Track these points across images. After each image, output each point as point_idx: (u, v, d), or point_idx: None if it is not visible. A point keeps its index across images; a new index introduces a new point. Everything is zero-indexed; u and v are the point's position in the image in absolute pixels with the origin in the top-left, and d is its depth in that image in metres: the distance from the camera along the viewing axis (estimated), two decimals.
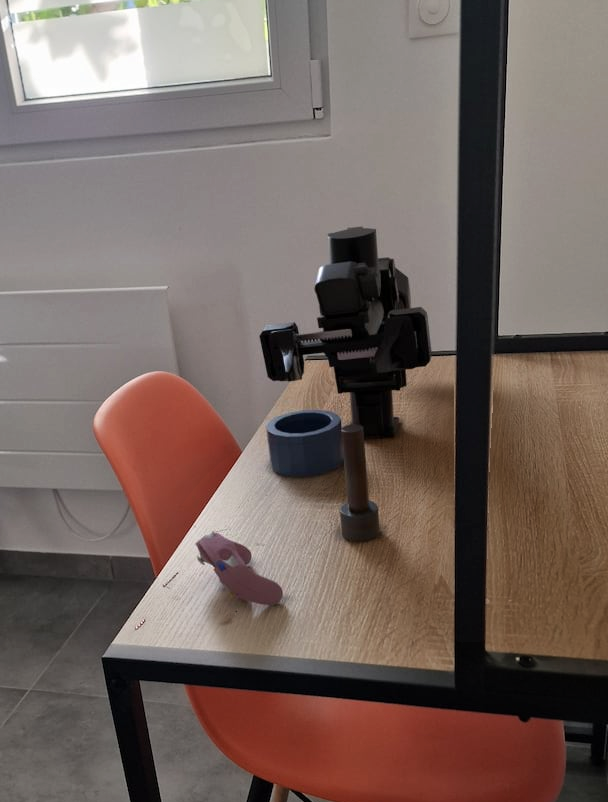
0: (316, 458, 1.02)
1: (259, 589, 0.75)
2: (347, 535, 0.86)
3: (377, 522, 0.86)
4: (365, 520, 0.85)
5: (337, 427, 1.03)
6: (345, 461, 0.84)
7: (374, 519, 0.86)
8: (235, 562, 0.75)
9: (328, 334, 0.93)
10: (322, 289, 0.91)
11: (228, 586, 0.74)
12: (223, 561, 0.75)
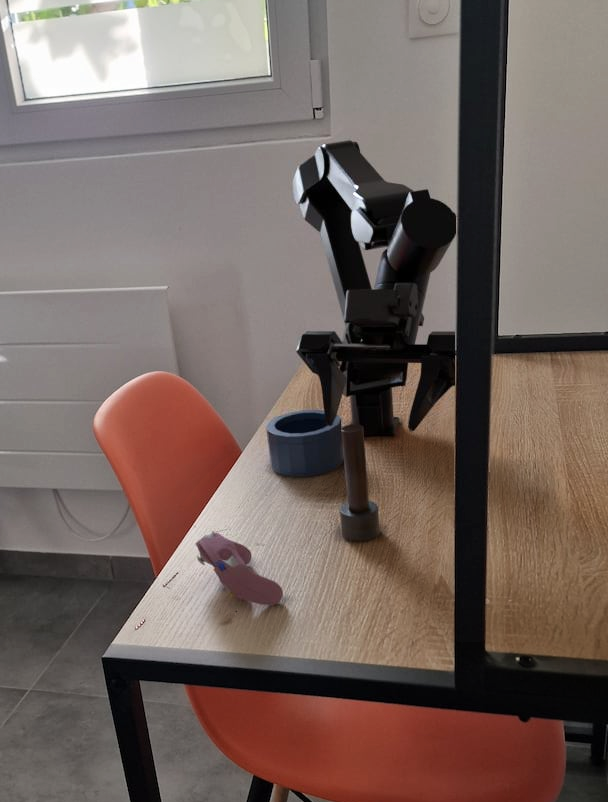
0: (316, 458, 1.02)
1: (259, 589, 0.75)
2: (347, 535, 0.86)
3: (377, 522, 0.86)
4: (365, 520, 0.85)
5: (337, 427, 1.03)
6: (345, 461, 0.84)
7: (374, 519, 0.86)
8: (235, 562, 0.75)
9: (366, 348, 0.88)
10: None
11: (228, 586, 0.74)
12: (223, 561, 0.75)
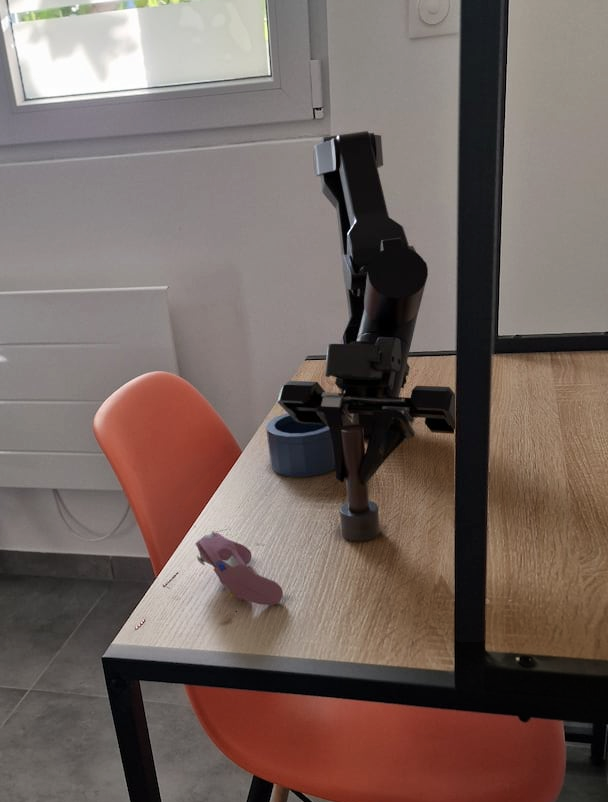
0: (316, 458, 1.02)
1: (259, 589, 0.75)
2: (347, 535, 0.86)
3: (377, 522, 0.86)
4: (365, 520, 0.85)
5: None
6: (345, 461, 0.84)
7: (374, 519, 0.86)
8: (235, 562, 0.75)
9: (380, 401, 0.84)
10: None
11: (228, 586, 0.74)
12: (223, 561, 0.75)
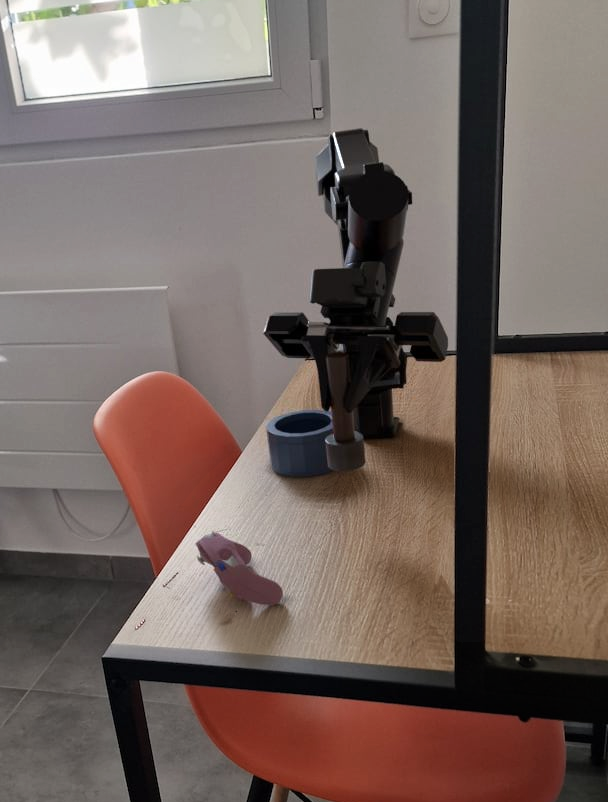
0: (316, 458, 1.02)
1: (259, 589, 0.75)
2: (333, 465, 0.87)
3: (362, 452, 0.86)
4: (351, 449, 0.85)
5: None
6: (330, 389, 0.84)
7: (360, 448, 0.86)
8: (235, 562, 0.75)
9: (365, 329, 0.84)
10: None
11: (228, 586, 0.74)
12: (223, 561, 0.75)
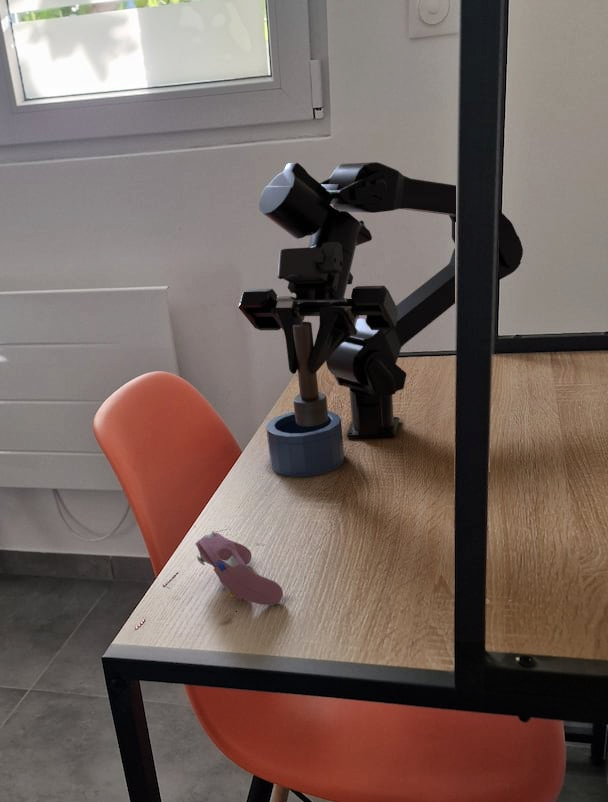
0: (316, 458, 1.02)
1: (259, 589, 0.75)
2: (300, 421, 0.99)
3: (325, 409, 0.99)
4: (315, 406, 0.98)
5: (337, 427, 1.03)
6: (296, 354, 0.97)
7: (323, 406, 0.99)
8: (235, 562, 0.75)
9: (326, 302, 0.97)
10: None
11: (228, 586, 0.74)
12: (223, 561, 0.75)
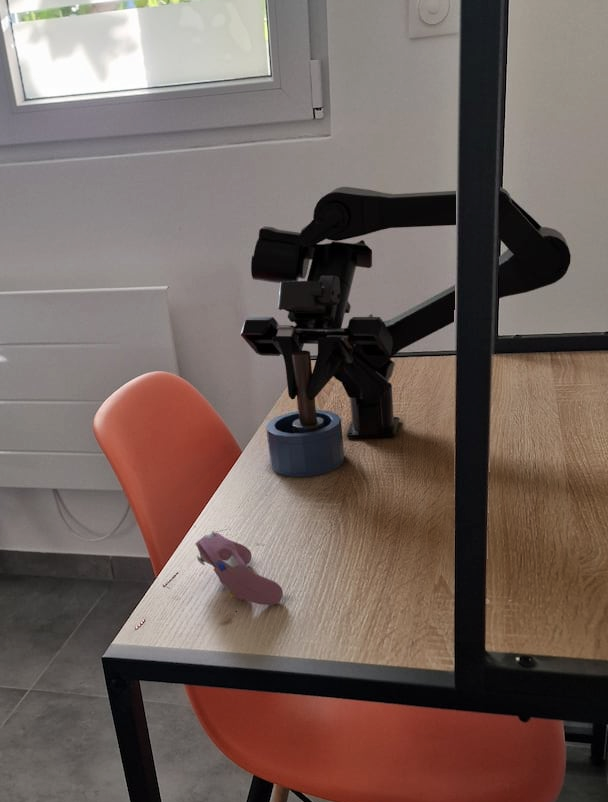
0: (316, 458, 1.02)
1: (259, 589, 0.75)
2: None
3: None
4: (313, 430, 1.03)
5: (337, 427, 1.03)
6: (296, 381, 1.01)
7: None
8: (235, 562, 0.75)
9: (324, 331, 1.02)
10: None
11: (228, 586, 0.74)
12: (223, 561, 0.75)
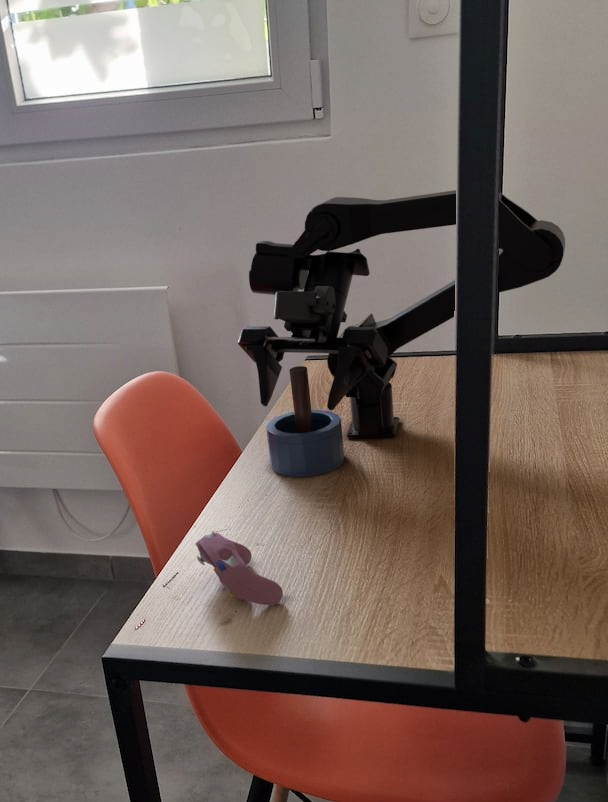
0: (316, 458, 1.02)
1: (259, 589, 0.75)
2: None
3: None
4: None
5: (337, 427, 1.03)
6: (293, 396, 1.03)
7: None
8: (235, 562, 0.75)
9: (296, 340, 1.04)
10: (281, 316, 1.00)
11: (228, 586, 0.74)
12: (223, 561, 0.75)
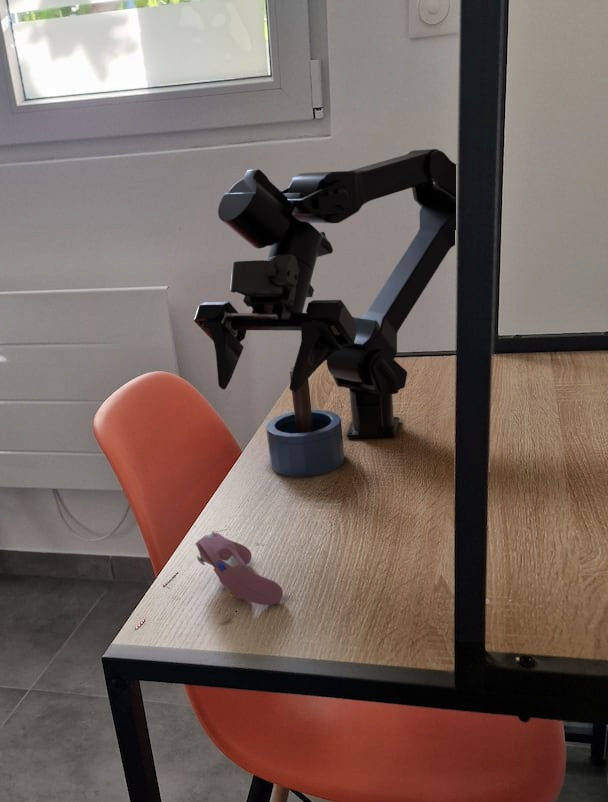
0: (316, 458, 1.02)
1: (259, 589, 0.75)
2: None
3: None
4: None
5: (337, 427, 1.03)
6: (293, 396, 1.03)
7: None
8: (235, 562, 0.75)
9: (256, 316, 0.95)
10: (239, 289, 0.91)
11: (228, 586, 0.74)
12: (223, 561, 0.75)
